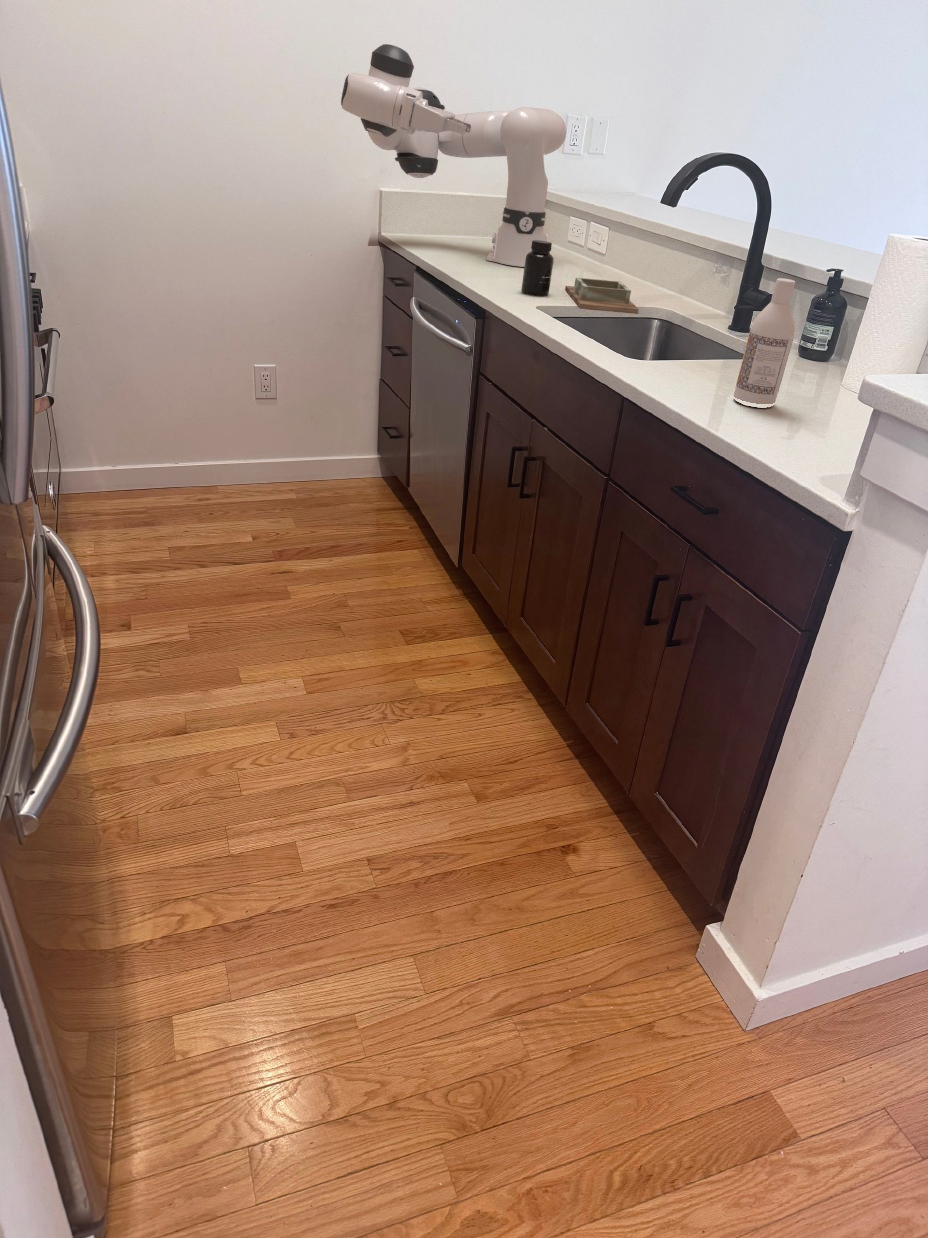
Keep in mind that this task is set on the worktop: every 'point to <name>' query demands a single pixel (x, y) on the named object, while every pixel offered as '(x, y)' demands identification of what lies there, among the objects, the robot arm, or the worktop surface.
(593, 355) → the worktop surface
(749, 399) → the bath foam
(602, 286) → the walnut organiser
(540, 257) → the supplement bottle
